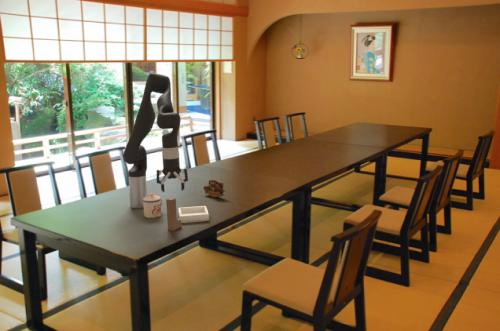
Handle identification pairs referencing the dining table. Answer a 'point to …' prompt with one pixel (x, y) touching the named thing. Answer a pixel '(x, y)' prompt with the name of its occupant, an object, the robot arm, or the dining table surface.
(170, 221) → the wooden block
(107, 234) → the dining table surface
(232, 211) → the dining table surface
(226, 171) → the dining table surface
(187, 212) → the tray
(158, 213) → the teacup with lid
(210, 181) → the wooden carving
